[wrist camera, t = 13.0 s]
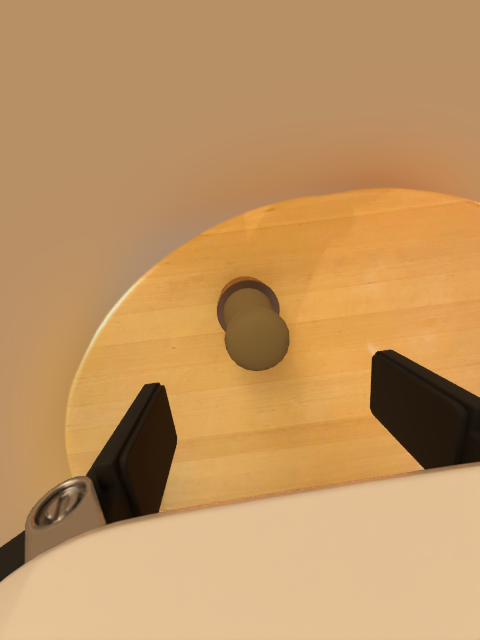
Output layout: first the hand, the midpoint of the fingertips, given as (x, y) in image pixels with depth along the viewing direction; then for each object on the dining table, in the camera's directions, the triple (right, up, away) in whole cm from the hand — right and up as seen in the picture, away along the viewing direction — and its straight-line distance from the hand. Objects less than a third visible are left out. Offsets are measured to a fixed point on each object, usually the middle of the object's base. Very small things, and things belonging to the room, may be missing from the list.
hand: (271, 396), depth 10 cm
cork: (0, +4, +17) cm, 18 cm away
